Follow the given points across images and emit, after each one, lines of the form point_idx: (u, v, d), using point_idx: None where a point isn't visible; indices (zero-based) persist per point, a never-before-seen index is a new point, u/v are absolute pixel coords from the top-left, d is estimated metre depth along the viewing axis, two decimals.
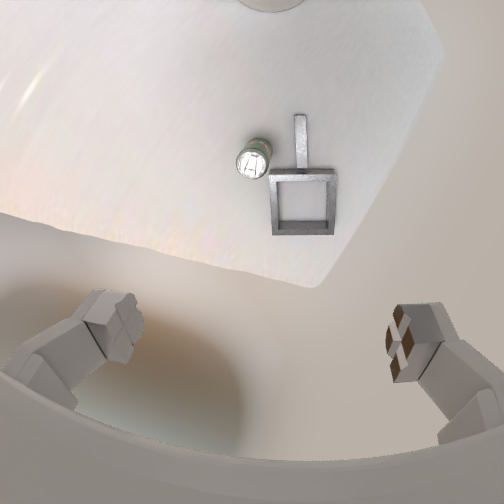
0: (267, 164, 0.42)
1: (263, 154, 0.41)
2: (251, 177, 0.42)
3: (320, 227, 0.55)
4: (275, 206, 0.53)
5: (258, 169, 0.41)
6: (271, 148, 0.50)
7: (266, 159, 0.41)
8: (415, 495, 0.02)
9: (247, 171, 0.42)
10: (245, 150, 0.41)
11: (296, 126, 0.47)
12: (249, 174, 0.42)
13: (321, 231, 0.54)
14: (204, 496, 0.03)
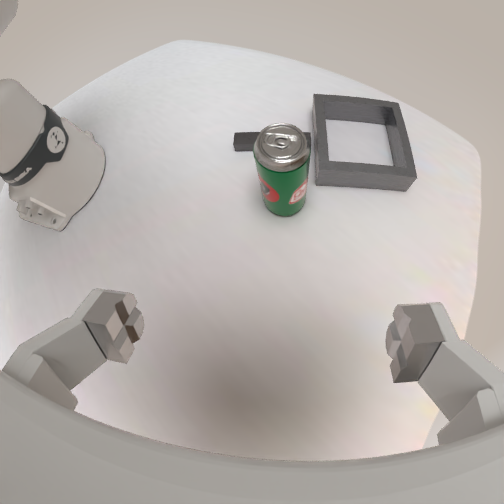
0: None
1: None
2: (304, 144, 0.22)
3: (393, 119, 0.32)
4: (370, 166, 0.30)
5: (289, 132, 0.23)
6: None
7: None
8: (415, 495, 0.02)
9: (294, 150, 0.23)
10: (255, 154, 0.23)
11: (249, 142, 0.35)
12: (299, 147, 0.22)
13: (397, 115, 0.31)
14: (204, 496, 0.03)
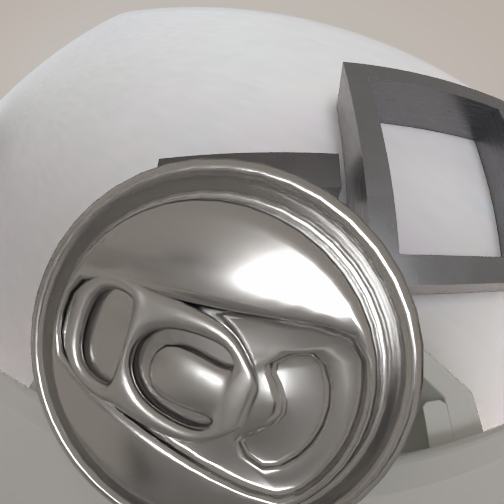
0: None
1: None
2: (399, 403, 0.02)
3: (501, 133, 0.11)
4: (489, 263, 0.09)
5: (260, 271, 0.02)
6: None
7: None
8: (415, 495, 0.02)
9: (298, 451, 0.02)
10: None
11: None
12: (345, 431, 0.02)
13: None
14: None
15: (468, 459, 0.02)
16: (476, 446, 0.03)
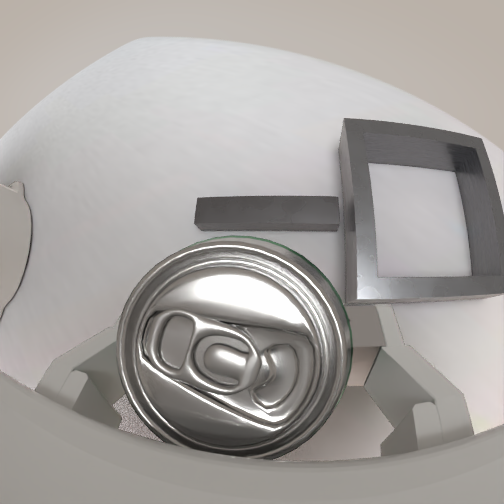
0: (240, 240, 0.06)
1: None
2: (335, 370, 0.04)
3: (476, 169, 0.16)
4: (449, 281, 0.14)
5: (260, 305, 0.05)
6: None
7: None
8: (415, 495, 0.02)
9: (284, 398, 0.05)
10: None
11: (222, 219, 0.20)
12: (308, 385, 0.05)
13: (484, 163, 0.15)
14: (204, 496, 0.03)
15: (468, 459, 0.02)
16: (476, 446, 0.03)
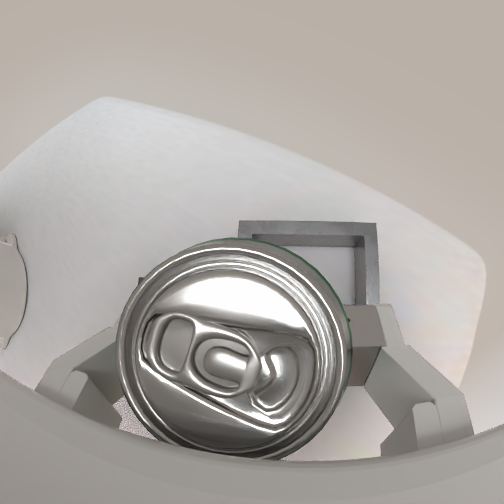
0: (240, 242, 0.06)
1: None
2: (336, 373, 0.04)
3: (363, 254, 0.24)
4: None
5: (261, 307, 0.05)
6: None
7: None
8: (415, 495, 0.02)
9: (284, 400, 0.05)
10: None
11: None
12: (308, 387, 0.05)
13: (370, 250, 0.23)
14: (204, 496, 0.03)
15: (468, 459, 0.02)
16: (476, 446, 0.03)
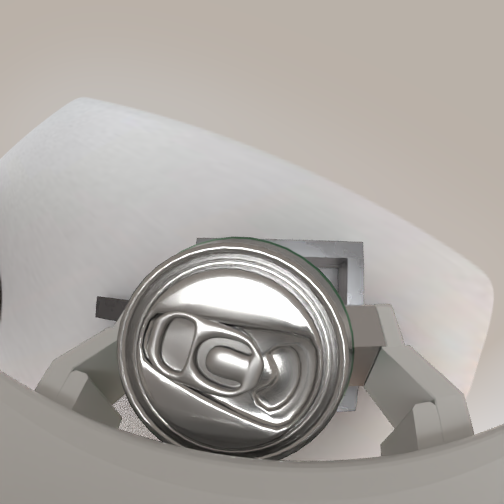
0: (242, 241, 0.06)
1: None
2: (338, 372, 0.04)
3: (345, 280, 0.20)
4: None
5: (263, 306, 0.05)
6: None
7: None
8: (415, 495, 0.02)
9: (286, 400, 0.05)
10: None
11: (112, 317, 0.23)
12: (310, 387, 0.04)
13: (354, 276, 0.19)
14: (204, 496, 0.03)
15: (468, 459, 0.02)
16: (476, 446, 0.03)
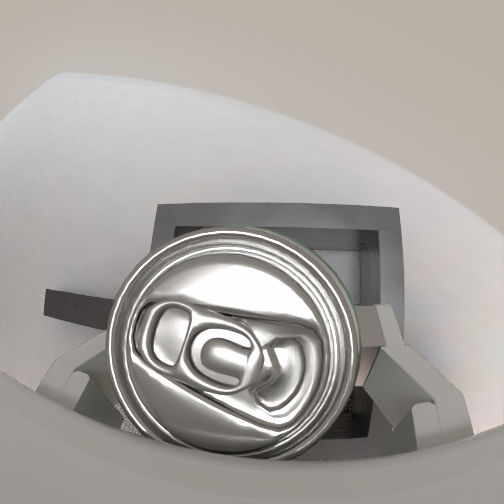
0: None
1: None
2: (345, 367, 0.04)
3: (375, 264, 0.13)
4: None
5: (263, 295, 0.04)
6: None
7: None
8: (415, 495, 0.02)
9: (289, 398, 0.04)
10: None
11: (60, 315, 0.16)
12: (315, 384, 0.04)
13: (389, 258, 0.12)
14: (204, 496, 0.03)
15: (468, 459, 0.02)
16: (476, 446, 0.03)
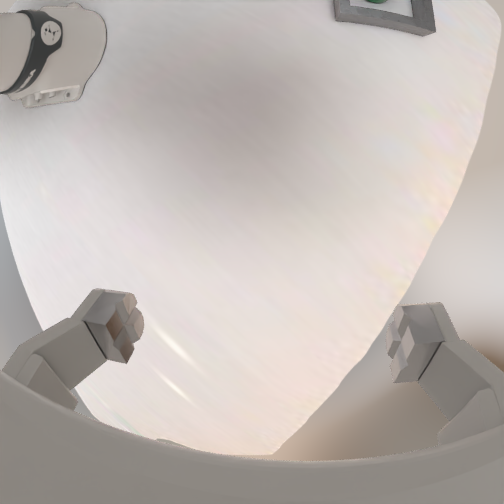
0: None
1: None
2: None
3: None
4: (390, 14, 0.20)
5: None
6: None
7: None
8: (415, 495, 0.02)
9: None
10: None
11: None
12: None
13: None
14: (204, 496, 0.03)
15: (468, 459, 0.02)
16: (476, 446, 0.03)
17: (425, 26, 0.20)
